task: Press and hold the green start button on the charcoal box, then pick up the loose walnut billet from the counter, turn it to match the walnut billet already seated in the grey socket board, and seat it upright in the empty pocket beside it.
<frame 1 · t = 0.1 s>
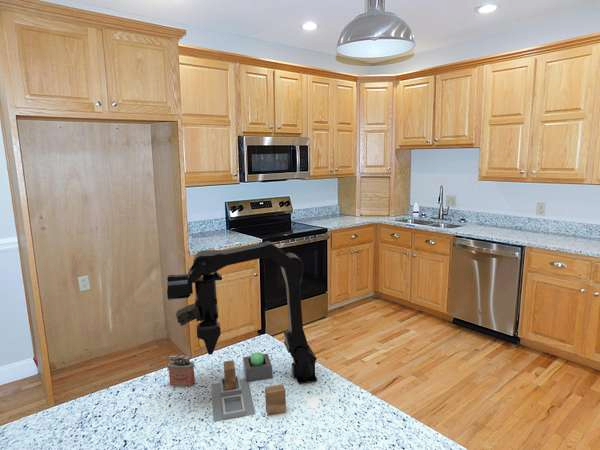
hand: (209, 346, 114), 15 cm above the countertop, tool pointing down, fingers open, 9 cm apart
grey socket board: (232, 401, 112), on the countertop
start button: (257, 360, 124), point 5 cm above the countertop, slide at 0.0 cm
lighter: (182, 386, 120), on the countertop
billet: (276, 413, 106), on the countertop
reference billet: (230, 388, 117), point 1 cm above the countertop, touching grey socket board
button box: (257, 375, 125), on the countertop
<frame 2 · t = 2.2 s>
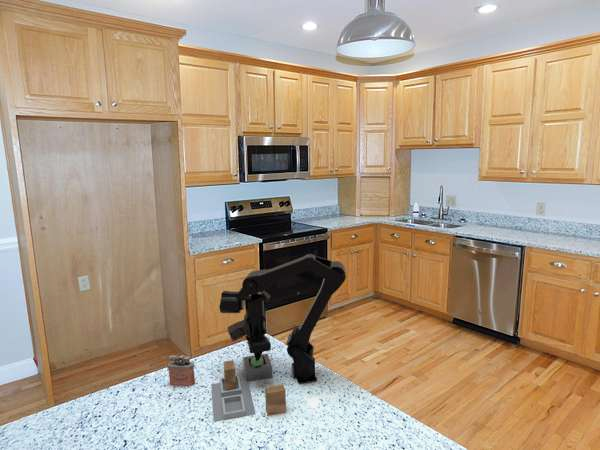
hand: (257, 359, 124), 6 cm above the countertop, tool pointing down, fingers closed, pressing on start button
start button: (257, 364, 124), point 4 cm above the countertop, slide at 1.5 cm, touching gripper
everything else where it was.
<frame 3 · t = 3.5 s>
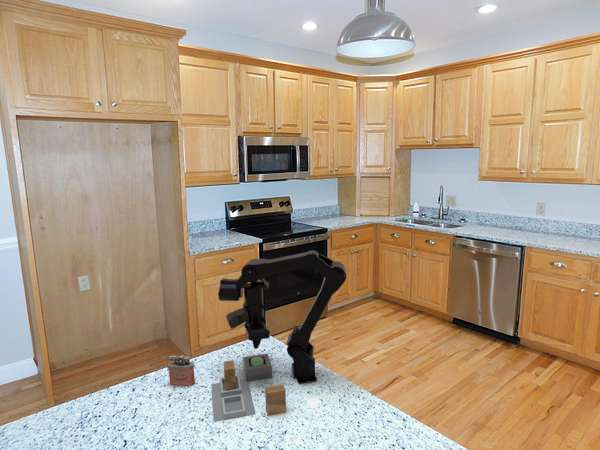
hand: (255, 348, 123), 9 cm above the countertop, tool pointing down, fingers closed
start button: (257, 365, 124), point 4 cm above the countertop, slide at 1.5 cm
everything else where it was.
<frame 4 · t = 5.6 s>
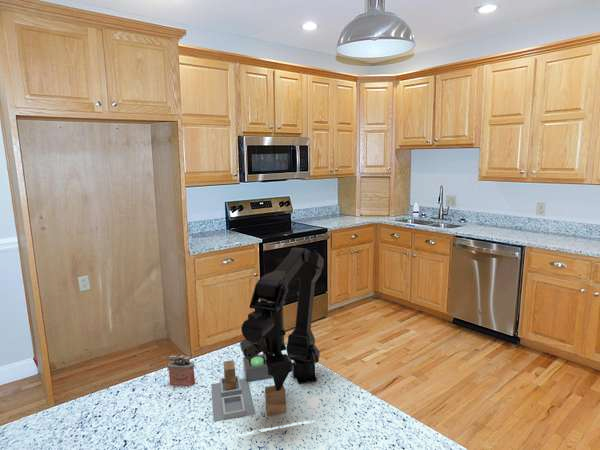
hand: (274, 380, 105), 10 cm above the countertop, tool pointing down, fingers open, 9 cm apart
nothing on the countertop moved.
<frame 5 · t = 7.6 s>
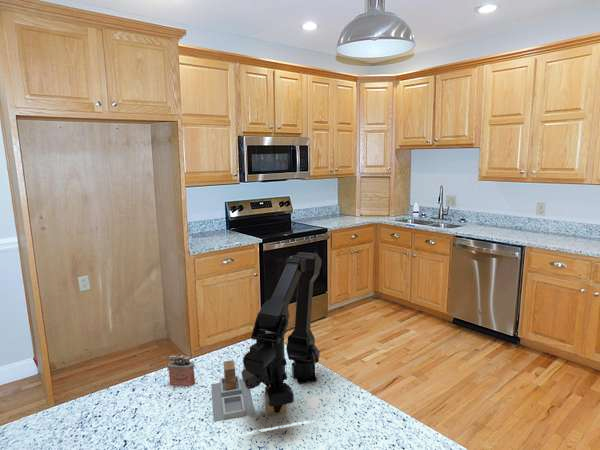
hand: (275, 408, 106), 2 cm above the countertop, tool pointing down, fingers closed on billet, 3 cm apart
billet: (276, 413, 106), on the countertop, touching gripper
everything else where it was.
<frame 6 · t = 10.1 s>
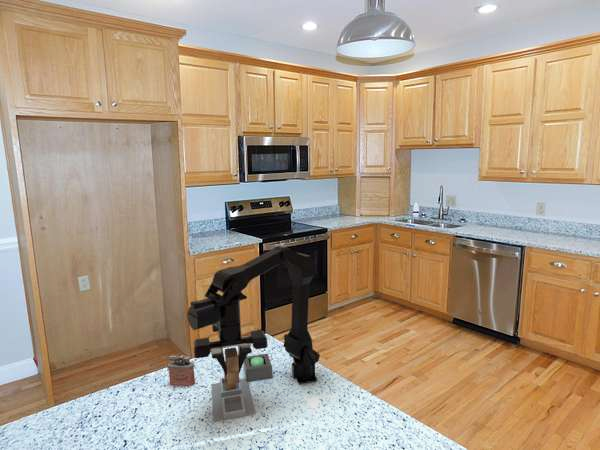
hand: (232, 373, 105), 12 cm above the countertop, tool pointing down, fingers closed on billet, 3 cm apart
billet: (232, 378, 105), point 10 cm above the countertop, touching gripper
everything else where it was.
when the fingers open (3 cm above the countertop, at t = 12.7 s): billet stays where it is, resting on grey socket board.
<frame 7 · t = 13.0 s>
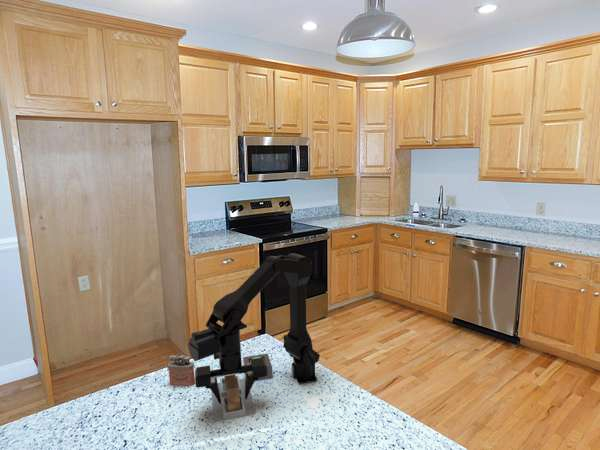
hand: (233, 400, 107), 3 cm above the countertop, tool pointing down, fingers open, 7 cm apart
billet: (233, 408, 107), point 1 cm above the countertop, touching grey socket board
everything else where it was.
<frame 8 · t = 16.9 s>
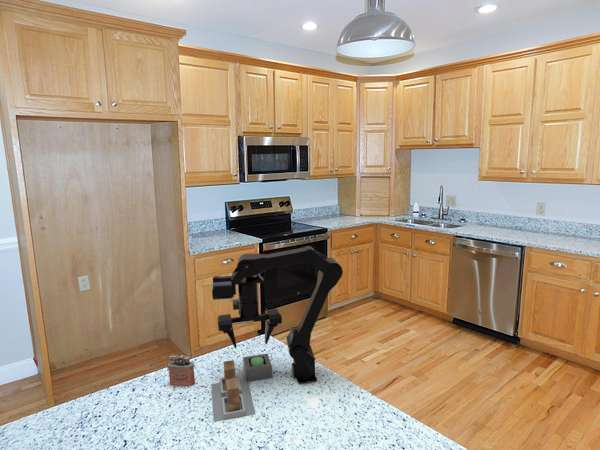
hand: (250, 345, 119), 12 cm above the countertop, tool pointing down, fingers open, 9 cm apart
nothing on the countertop moved.
at the end: start button slide at 1.5 cm; billet 0.1 cm from the target spot on the grey socket board, point 1.0 cm above the grey socket board's base; billet tilted 0° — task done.
